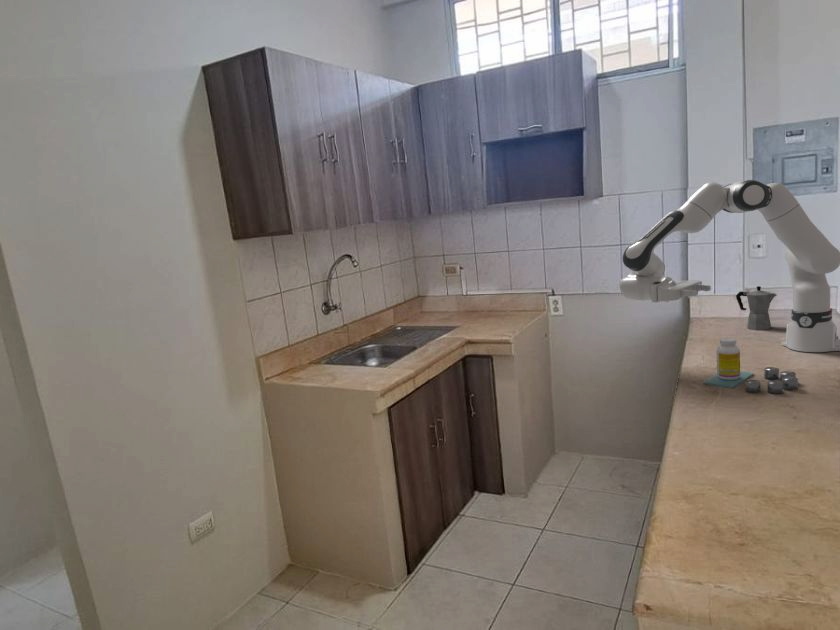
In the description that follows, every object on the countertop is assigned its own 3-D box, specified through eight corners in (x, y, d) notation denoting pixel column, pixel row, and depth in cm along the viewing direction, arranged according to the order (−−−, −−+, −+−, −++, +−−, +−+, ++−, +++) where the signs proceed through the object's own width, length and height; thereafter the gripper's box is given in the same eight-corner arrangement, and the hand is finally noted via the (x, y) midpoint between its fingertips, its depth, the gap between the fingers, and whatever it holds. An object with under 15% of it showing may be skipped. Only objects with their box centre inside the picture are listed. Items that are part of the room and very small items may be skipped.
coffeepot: (779, 326, 239) (779, 284, 236) (773, 331, 233) (773, 288, 229) (739, 324, 250) (739, 284, 247) (732, 328, 244) (732, 287, 240)
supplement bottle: (743, 380, 179) (742, 341, 177) (720, 381, 181) (719, 342, 179) (736, 373, 186) (735, 336, 183) (714, 374, 187) (713, 337, 185)
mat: (724, 370, 192) (724, 369, 192) (753, 374, 185) (753, 373, 185) (703, 383, 182) (703, 382, 182) (733, 388, 175) (733, 386, 175)
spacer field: (767, 375, 183) (767, 366, 182) (808, 380, 174) (808, 371, 174) (743, 391, 171) (743, 382, 171) (785, 398, 162) (786, 388, 162)
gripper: (678, 292, 207) (717, 294, 197) (649, 303, 195) (689, 305, 184) (677, 275, 206) (716, 276, 196) (649, 285, 194) (689, 286, 183)
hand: (703, 290), depth 190 cm, fingers open, 8 cm apart
